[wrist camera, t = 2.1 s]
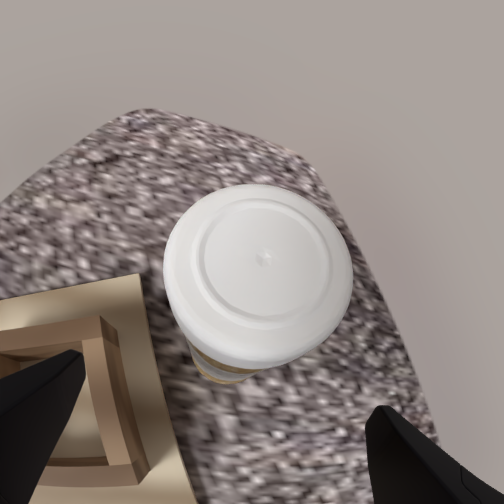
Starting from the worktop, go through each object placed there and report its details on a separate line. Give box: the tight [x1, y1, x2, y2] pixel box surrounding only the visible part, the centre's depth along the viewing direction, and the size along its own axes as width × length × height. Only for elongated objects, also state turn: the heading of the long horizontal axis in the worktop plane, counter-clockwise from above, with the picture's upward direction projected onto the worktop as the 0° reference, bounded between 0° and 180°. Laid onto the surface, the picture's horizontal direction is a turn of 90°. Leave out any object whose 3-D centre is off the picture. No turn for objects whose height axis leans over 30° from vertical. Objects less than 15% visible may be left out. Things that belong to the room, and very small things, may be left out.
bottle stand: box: [0, 273, 199, 504], centre depth 13 cm, size 16×13×4 cm
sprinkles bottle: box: [163, 184, 353, 384], centre depth 13 cm, size 5×5×13 cm
